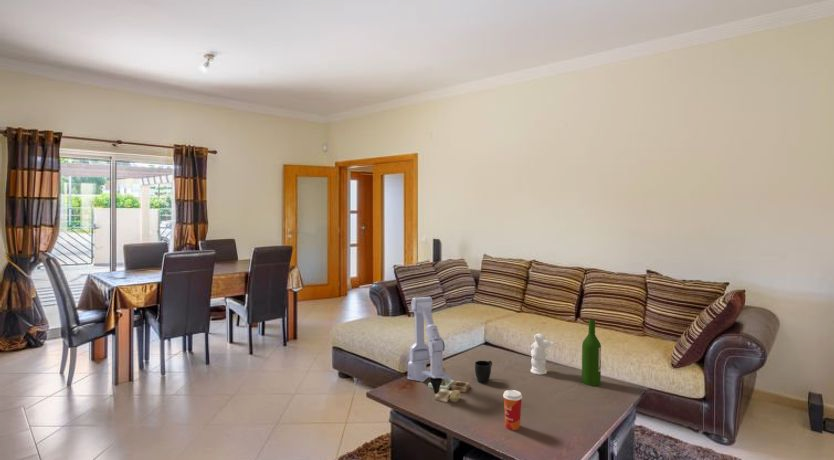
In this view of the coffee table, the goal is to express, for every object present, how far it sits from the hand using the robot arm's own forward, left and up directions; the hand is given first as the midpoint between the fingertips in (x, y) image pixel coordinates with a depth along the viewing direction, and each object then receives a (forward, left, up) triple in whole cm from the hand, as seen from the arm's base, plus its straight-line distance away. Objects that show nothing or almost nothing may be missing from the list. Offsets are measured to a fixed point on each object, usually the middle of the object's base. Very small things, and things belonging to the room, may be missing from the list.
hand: (436, 392), depth 204 cm
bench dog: (+9, 0, -1) cm, 10 cm away
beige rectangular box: (+4, 0, -2) cm, 4 cm away
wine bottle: (+65, +48, -2) cm, 81 cm away
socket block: (+7, +13, -1) cm, 15 cm away
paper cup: (+39, -14, -2) cm, 42 cm away
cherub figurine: (+40, +51, -2) cm, 65 cm away
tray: (-3, +12, -1) cm, 12 cm away
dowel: (-2, +12, -1) cm, 12 cm away
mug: (+15, +28, -2) cm, 32 cm away
